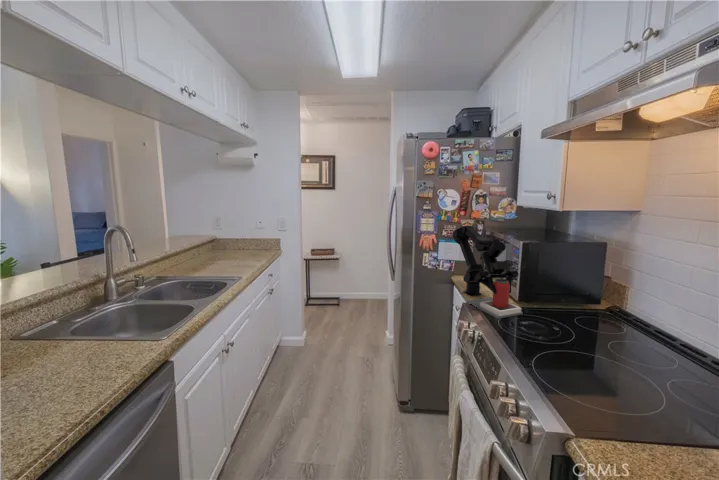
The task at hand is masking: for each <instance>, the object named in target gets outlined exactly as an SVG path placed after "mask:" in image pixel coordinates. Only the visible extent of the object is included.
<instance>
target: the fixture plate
mask: <svg viewBox="0 0 719 480" xmlns="http://www.w3.org/2000/svg"><path fill="white" fill-rule="evenodd" d="M492 301H493V297H489V296H488V297H483V298H482V297H481V298H476V299H469V300H466V301H465V302H466V303H465V304H468V305H470V304H472V305H474V306H475V308H476V307H477V308H476V309H478V310H479V311H481V312H484V313H486V314H488V315H489V316H491V317H493V318H495V319H498V320H499V319H503V318H508V317H509V318H510V317H515V316H521V315H523V313H524V312H523V311H522V307H520V306H517V305H516V304H514V303H510V302H508V307H507V308H505V309H500V308H496V307H494V306H493V305H492ZM472 305H471V306H472ZM474 306H473V307H474Z"/></svg>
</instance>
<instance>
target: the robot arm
mask: <svg viewBox="0 0 719 480" xmlns="http://www.w3.org/2000/svg"><path fill="white" fill-rule="evenodd" d="M451 235H452V238H453V240H454V242H455V243H456V244H458V245H459V247H460V250H461V252H462V255H463V258H464V261H465V264H466V266H467V267H466V271H465V274H464V276H463V277H462V278H463V282H465V283H466V289H465V290H464V291H463V293H465V294H467V295H469V296H481V295H482V293H481V292H480V291H481V285H480V284H483V286H486V287H487V288H488V289H489V290H490V291H491V292H492V294H493V293H494V294H496V293H497V292H496V289H495V286H494V282H493V279H505V280H508V281H509V284H510V292H509V294H511V293H512V281H514V280H515V279H516V278H517V277H519V276H520V275H519V273H518V272H519V271H518V270H515V269H512V270H509V269H510V268H511V267H512V262H511V260H510V259H506V260H504V261H498V259H497V258H499V257H500V256H502V255H501V254H502V253H504V251H505V250H506V247H507V246H506V244H504V242H502V241H501V240H500V239H498V238H496V239H495V238H494V239H493V240H492V239H490V238H488V237H484V236H482V235H481V234H480V233H479V232H478V231H477V230H476V229H475V228H474V226H473V225H463V226H462V227H459V228H456V229H454V231H452V233H451ZM469 240H471V241H472V242H473V243H474V248H475V249H476V251H477V252H479V253H481V252H483V253H481V255H480V258H479V259H480V260H483V262H484V265H485V267H484V268H483V265H482V263H481V264H480V263H479V264H478V263H477V261H476V257H475V256H474V255H475V254H474V253H473V251H472V247H471V245H470V242H469ZM486 270H487V271H486ZM505 270H507V271H505ZM503 272H505V273H503Z"/></svg>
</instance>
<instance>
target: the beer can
mask: <svg viewBox="0 0 719 480" xmlns="http://www.w3.org/2000/svg"><path fill="white" fill-rule="evenodd" d="M493 284H494V286H495V289H496V292H497V293H496V294H494V293H493V292H492V299H493V301H492V305H493V306H494V307H496V308H500V309H505V308H507V307H508V302H509V300H510V293H509V292H510V284H509V281H508V280H505V279H503V278H495V281H494V282H493ZM509 303H510V302H509Z"/></svg>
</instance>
